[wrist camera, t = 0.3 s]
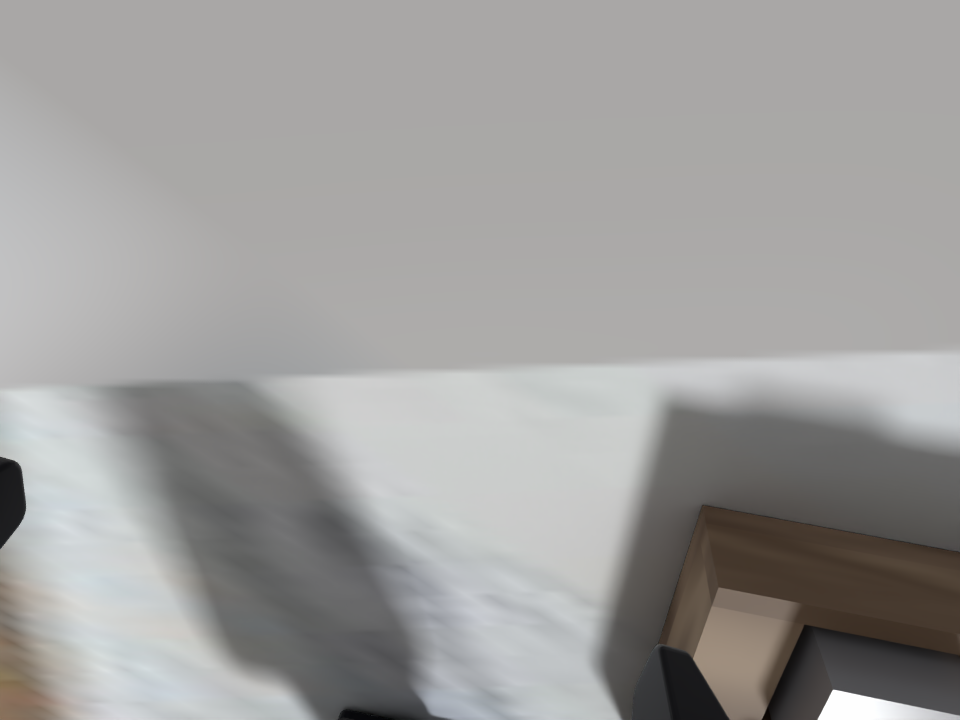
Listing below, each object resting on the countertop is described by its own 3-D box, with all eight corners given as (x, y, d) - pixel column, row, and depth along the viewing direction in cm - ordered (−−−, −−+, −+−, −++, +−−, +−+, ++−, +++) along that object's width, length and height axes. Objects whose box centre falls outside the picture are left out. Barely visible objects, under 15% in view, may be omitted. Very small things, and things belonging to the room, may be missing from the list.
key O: (895, 725, 24) (932, 814, 21) (766, 698, 24) (785, 782, 22) (948, 637, 22) (995, 723, 19) (806, 609, 22) (833, 689, 20)
